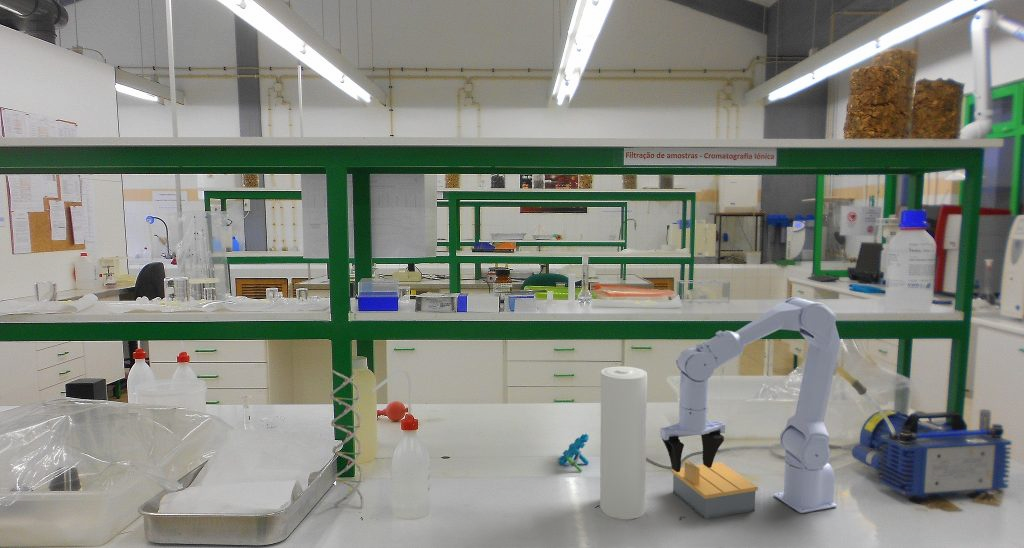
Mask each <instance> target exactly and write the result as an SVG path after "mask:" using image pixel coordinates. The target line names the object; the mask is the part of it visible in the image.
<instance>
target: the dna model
mask: <svg viewBox="0 0 1024 548" xmlns="http://www.w3.org/2000/svg"><path fill="white" fill-rule="evenodd" d="M331 372H332V373H333V374H335V375H337V376H338V377H339V378H343V379H344V381H343V382H342V384H340V386H338V387H337V388H336V389H334V390H333V391H331V393H330V395H329V397H330V398H331V399H332V400H334V401H335V402H337V403H338V405H339V406H340V405H343V406H345V409H344V410H343V412H342V413H340V414H339V415H338V416H337V417H336V418H333V419H332V421H331V423H330V424H331V426H332V427H333V428H336V429H338V430H340V431H342V432H344V433H347V434H346V437H345V439H344V440H343V441H341V442H340V443H339V444H338V445H335V446H333V448H332V451H331V452H332V453H333V454H334V455H337V456H338V457H339V456H340V457H342V458H345V459H346V460H348V462H347V465H346V466H345V468H344V469H342V470H341V471H338V472H337V473H335V475H334V476H333V478H332V479H333V480H334V481H336V482H339V483H341V485H346V486H348V487H350V488H349V489H348V492H347V494H346V495H345V496H344V497H342V498H341V499H339V500H338V501H336V502H335V503H334V507H337V506H338V507H339V504H340V503H342V502H344V501H346V500H347V499H348V498H349V497H351V496H352V495H353V494H354V493H355V492H357V494H358V495H359V497H360V499H359V500H360V509H363V508H364V497H363V494H362V492H361V491H360V490H359V487H360V486H361V484H362V482H363V481H362V480H363V478H364V477H363V475H364V474H363V470H362V469H363V468H362V467H361V466H360V464H359V462H357V461H358V459H360V456H361V454H362V449H363V448H362V447H363V446H362V443H361V441H360V439H359V438H358V437H357V435H356V434H357V433H358V430H360V427H361V419H362V418H361V416H360V413H359V412H358V411H357V410H356V409H355V407H356V405H357V404H358V403H359V400H360V396H361V394H360V388H359V386H357V384H356V383H355V382H354V381H353V379H354V377H355V376H356V375H357V371H354V373H353V374H351V376H350V377H348V376H345V375H344V374H342V373H340V372H338V371H335V370H334V369H332V370H331ZM348 384H351V385H352V386H353V387H354V388H355V390H356V398H347V397H335V396H334V394H335V393H337V392H338V391H339V390H341V389H342V388H344V387H345V386H346V385H348ZM342 400H346V401H347V400H348V401H354V402H353V403H352V404H351V405H350V404H348V403H347V402H345V401H342ZM351 411H352V413H354V414H355V415H356V417H357V425H346V428H355V429H354V431H353V432H351V429H350V430H348V429H346V428H345V425H344V424H343V425H342V424H336V422H337V421H339V419H341V418H342V417H344V416H345V415H347V414H348V413H349V412H351ZM352 438H353V439H354V440H355V441H356V443H357V444H358V452H347V451H346V452H345V451H337V449H339V448H340V447H342V446H343V445H345V444H347V442H349V441H350V440H351V439H352ZM348 455H354V456H355V455H356V456H355V459H353V458H352V457H350V456H348ZM350 462H351V463H350ZM354 465H355V467H357V469H358V471H359V480H349V479H341V478H338V477H339V476H340V475H343V473H345V472H348V470H349V469H351V468H352V467H353V466H354ZM352 483H356V485H355V484H352Z"/></svg>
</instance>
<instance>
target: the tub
mask: <svg viewBox="0 0 1024 548" xmlns="http://www.w3.org/2000/svg"><path fill="white" fill-rule="evenodd" d="M672 475H673V476H672V478H673V479H672V480H673V481H672V483H673V484H672V493H673V494H675V495H676V496H677V497H678V498H679V499H681V500H682V501H683V502H684V503H685V504H686V505H688V506H689V507H690V508H691V509H693V511H694V512H696V513H697V514H698V515H700V516H701V517H702V518H703V519H704V520H708V519H714V518H719V517H726V516H730V515H737V514H743V513H748V512H753V511H755V509H756V491H751V492H745V493H739V494H733V495H727V496H721V497H715V498H708V499H704V498H703V497H702V496H701V495H699V494H698V493H697V492H696V491H694V490H693V489H692V488H691V487H689V486H688V485H687V484H685V483H684V482H683V481H682V480H680V479H679V478H678V477H677V476H675V475H674V474H673V473H672Z"/></svg>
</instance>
